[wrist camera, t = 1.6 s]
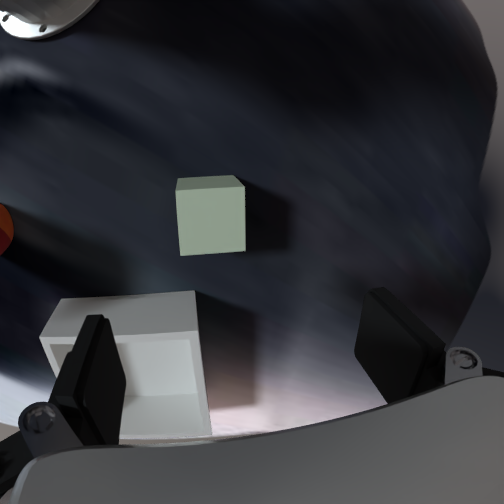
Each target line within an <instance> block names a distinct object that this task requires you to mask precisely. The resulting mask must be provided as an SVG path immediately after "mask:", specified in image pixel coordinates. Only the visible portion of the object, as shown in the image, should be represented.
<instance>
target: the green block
mask: <svg viewBox="0 0 504 504" xmlns="http://www.w3.org/2000/svg"><path fill="white" fill-rule="evenodd" d="M176 205H177V219H178V232H179V244H180V255H181V256H184V255H197V254H211V253H224V252H237V251H246V250H245V186H244V185H243V184H242V183H241V182H240V181H239V180H238V179H237V178H236V177H235V176H234V175H230V176H210V177H193V178H178V181H177V186H176Z"/></svg>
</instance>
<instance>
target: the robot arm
mask: <svg viewBox="0 0 504 504" xmlns="http://www.w3.org/2000/svg"><path fill="white" fill-rule="evenodd" d="M98 2H99V0H0V24H1V26H2V28H3V29H4V30H5V31H6V32H7V33H9V34H10V35H12V36H14V37H16V38H19V39H23V40H39V39H43V38H47V37H50V36H53V35H55V34H58V33H60V32H62V31H64V30H65V29H67V28H69V27H71V26H72V25H74V24H75V23H76V22H78V21H79V20H80V19H82V18H83V17H84V16H85V15H86V14H87V13H88V12H89V11H91V10H92V8H93V7H94V6H95V5H96V4H97V3H98ZM45 30H46V31H45ZM445 345H446V344H445V343H444V342H443V341H442V340H441V339H440V338H439V337H438V336H437V335H436V334H435V333H434V332H433V331H432V330H430V329H429V328H428V327H427V326H426V325H425V324H424V323H423V322H422V321H421V320H420V319H419V318H418V317H417V316H416V315H414V314H413V313H412V312H411V311H410V310H409V309H408V308H407V307H406V306H405V305H404V304H402V303H401V302H400V301H399V300H398V299H397V298H396V297H395V296H394V295H392V294H391V293H390V292H389V291H388V290H387V289H386V288H384V287H381V288H375V289H370V290H369V292H368V293H367V294H366V295H365V297H364V302H363V308H362V313H361V319H360V324H359V329H358V334H357V339H356V344H355V349H354V353H355V357H356V359H357V360H358V361H359V363H360V364H361V366H362V367H363V369H364V370H365V371H366V373H367V374H368V376H369V377H370V379H371V380H372V382H373V383H374V384H375V386H376V387H377V389H378V390H379V392H380V393H381V395H382V396H383V398H384V399H385V400H386V402H387V403H388V404H386V405H383V406H380V407H376V408H373V409H370V410H366V411H363V412H359V413H355V414H352V415H348V416H344V417H340V418H336V419H332V420H328V421H324V422H319V423H315V424H310V425H306V426H301V427H296V428H291V429H286V430H280V431H274V432H269V433H262V434H256V435H249V436H242V437H234V438H226V439H217V440H207V441H196V442H182V443H163V444H137V445H136V444H134V445H119V435H120V427H121V419H122V411H123V404H124V397H125V390H126V376H125V373H124V370H123V366H122V363H121V360H120V356H119V353H118V349H117V346H116V342H115V339H114V335H113V331H112V328H111V324H110V320H109V319H108V318H104V316H103V315H102V314H95V315H87V316H86V318H85V320H84V322H83V325H82V327H81V329H80V332H79V334H78V336H77V339H76V341H75V343H74V346H73V348H72V351H70V352H68V353H67V355H66V357H65V359H64V361H63V364H62V366H61V369H60V372H59V374H58V377H57V379H56V382H55V385H54V387H53V390H52V393H51V395H50V398H49V401H48V402H36V403H34V404H31V405H29V406H28V407H26V408H25V409H24V410H23V411H22V412H21V414H20V416H19V420H18V425H19V429H20V431H18V432H16V433H15V434H13V435H11V436H9V437H8V438H6V439H4V440H3V441H1V442H0V504H504V372H500V371H495V370H491V369H487V368H483V367H482V364H481V360H480V358H479V356H478V355H477V354H476V353H475V352H474V351H472V350H470V349H467V348H464V347H454V348H451V349H449V350H448V351H447V353H446V352H445V351H444V348H445Z"/></svg>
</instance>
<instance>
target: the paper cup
mask: <svg viewBox="0 0 504 504" xmlns="http://www.w3.org/2000/svg"><path fill="white" fill-rule="evenodd" d="M13 234H14V227H13V221H12V218H11V216H10V214H9V212H8V210H7V209H6V208H5V207H4V206H3V205H2V204H1V203H0V255H1V254H2V253H3V252H4V251H5V250H6V249H7V248H8V246H9V245H10V243H11V241H12V239H13Z"/></svg>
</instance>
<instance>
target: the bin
mask: <svg viewBox="0 0 504 504" xmlns="http://www.w3.org/2000/svg"><path fill="white" fill-rule="evenodd" d="M95 314H102V315H103V316H104V318H108V319H109V320H110V324H111V328H112V331H113V335H114V339H115V342H116V346H117V349H118V353H119V356H120V360H121V363H122V366H123V370H124V373H125V376H126V390H125V397H124V404H123V411H122V419H121V427H120V435H119V439H152V438H178V437H193V436H205V435H212V428H211V421H210V414H209V406H208V399H207V391H206V384H205V376H204V368H203V361H202V352H201V344H200V335H199V326H198V317H197V308H196V298H195V290H194V291H181V292H168V293H154V294H139V295H124V296H107V297H89V298H69V299H61V300H60V302H59V304H58V305H57V307H56V309H55V310H54V312H53V314H52V315H51V317H50V319H49V321H48V322H47V324H46V326H45V328H44V329H43V331H42V333H41V335H40V340H41V343H42V345H43V348H44V350H45V353H46V355H47V357H48V360H49V362H50V364H51V367H52V369H53V371H54V373H55V376H56V378H57V377H58V374H59V372H60V369H61V366H62V364H63V361H64V359H65V357H66V355H67V353H68V352H70V351H72V348H73V346H74V343H75V341H76V339H77V336H78V334H79V332H80V329H81V327H82V325H83V322H84V320H85V318H86V316H87V315H95Z"/></svg>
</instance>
